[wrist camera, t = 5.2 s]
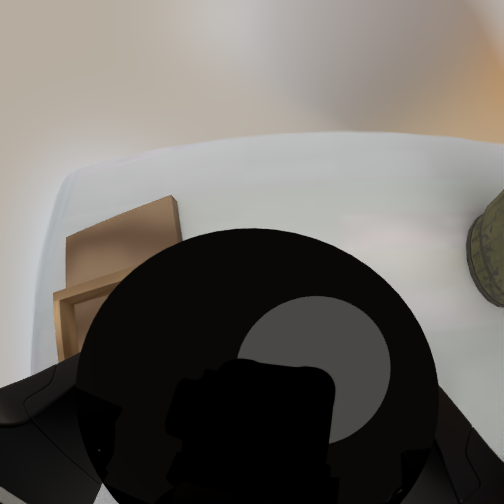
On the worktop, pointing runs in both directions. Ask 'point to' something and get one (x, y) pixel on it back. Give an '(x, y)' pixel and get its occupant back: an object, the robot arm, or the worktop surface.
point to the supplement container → (256, 378)
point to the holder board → (108, 265)
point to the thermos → (488, 251)
